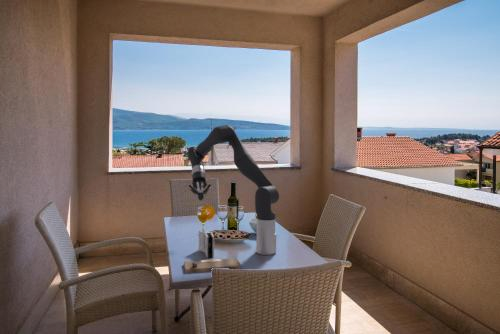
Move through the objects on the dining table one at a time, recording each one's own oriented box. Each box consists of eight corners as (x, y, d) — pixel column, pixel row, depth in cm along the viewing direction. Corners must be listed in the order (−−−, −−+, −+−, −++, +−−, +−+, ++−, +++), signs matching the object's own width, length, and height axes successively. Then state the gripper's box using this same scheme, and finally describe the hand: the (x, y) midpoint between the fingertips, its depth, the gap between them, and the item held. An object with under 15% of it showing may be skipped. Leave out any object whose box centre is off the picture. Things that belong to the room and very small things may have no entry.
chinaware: (266, 229, 233) (266, 217, 233) (278, 235, 220) (279, 222, 219) (244, 231, 227) (244, 219, 226) (256, 238, 213) (256, 224, 213)
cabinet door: (236, 261, 174) (236, 254, 173) (241, 268, 164) (241, 261, 164) (183, 264, 168) (183, 258, 167) (185, 273, 158) (185, 265, 158)
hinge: (198, 250, 189) (198, 230, 189) (208, 249, 192) (208, 229, 191) (207, 258, 177) (207, 237, 176) (218, 257, 179) (218, 236, 179)
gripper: (187, 170, 211) (189, 195, 200) (210, 170, 214) (213, 195, 203) (186, 179, 216) (188, 203, 205) (209, 178, 220) (212, 203, 209)
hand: (201, 199), depth 204 cm, fingers closed
